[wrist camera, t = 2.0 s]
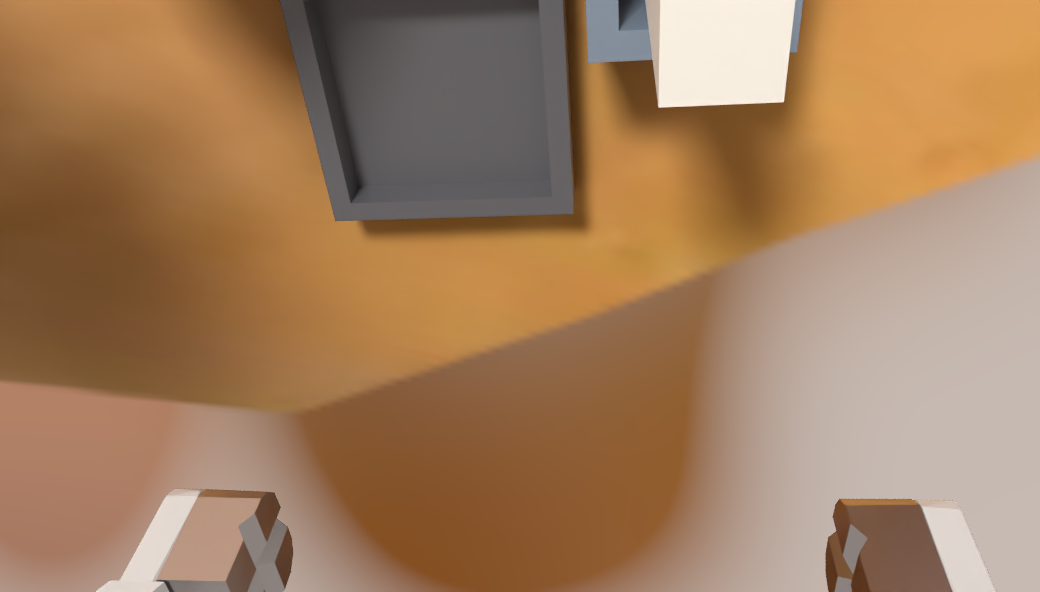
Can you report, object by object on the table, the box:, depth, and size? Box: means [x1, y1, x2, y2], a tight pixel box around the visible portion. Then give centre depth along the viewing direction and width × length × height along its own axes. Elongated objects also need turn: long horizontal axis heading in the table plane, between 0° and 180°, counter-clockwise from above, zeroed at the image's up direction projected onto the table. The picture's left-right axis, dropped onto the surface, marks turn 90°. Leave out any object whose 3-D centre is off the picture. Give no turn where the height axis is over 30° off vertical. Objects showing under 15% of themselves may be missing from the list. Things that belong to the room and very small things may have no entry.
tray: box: [280, 0, 575, 221], centre depth 39 cm, size 12×12×2 cm
